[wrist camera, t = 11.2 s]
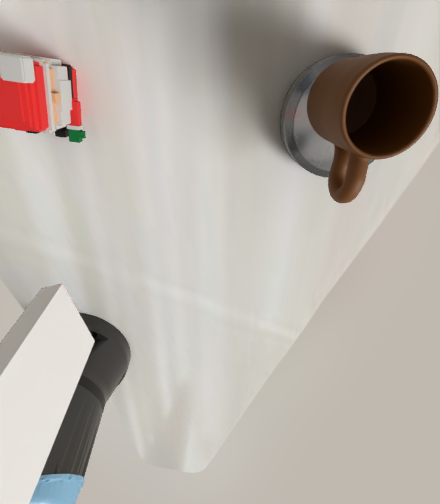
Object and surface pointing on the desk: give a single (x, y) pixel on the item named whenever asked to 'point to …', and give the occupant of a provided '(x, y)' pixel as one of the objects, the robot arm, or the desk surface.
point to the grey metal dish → (307, 122)
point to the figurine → (39, 96)
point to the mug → (370, 113)
